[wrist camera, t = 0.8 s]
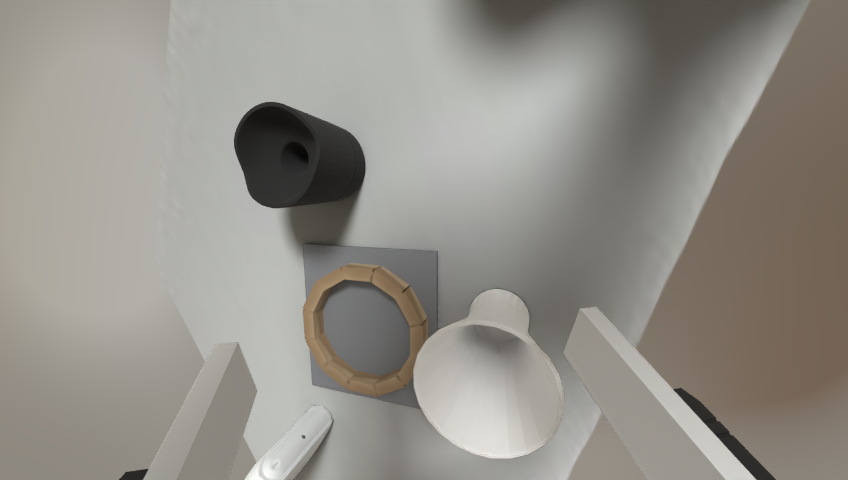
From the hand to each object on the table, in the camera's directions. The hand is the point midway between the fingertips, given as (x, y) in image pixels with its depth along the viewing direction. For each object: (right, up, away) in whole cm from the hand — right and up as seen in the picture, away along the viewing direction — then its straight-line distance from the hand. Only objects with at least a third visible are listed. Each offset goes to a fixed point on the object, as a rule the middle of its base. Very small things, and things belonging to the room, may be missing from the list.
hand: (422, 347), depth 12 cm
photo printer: (-16, -24, +34) cm, 44 cm away
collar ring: (-7, -6, +27) cm, 29 cm away
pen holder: (-11, +13, +26) cm, 31 cm away
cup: (+8, -4, +22) cm, 24 cm away
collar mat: (-7, -6, +27) cm, 29 cm away
